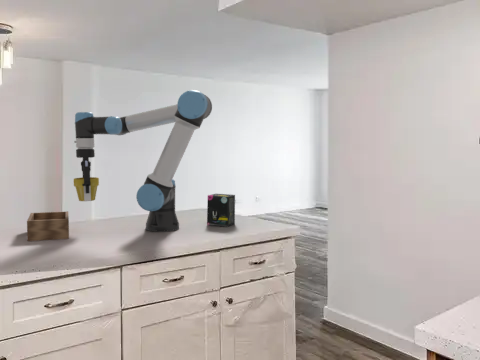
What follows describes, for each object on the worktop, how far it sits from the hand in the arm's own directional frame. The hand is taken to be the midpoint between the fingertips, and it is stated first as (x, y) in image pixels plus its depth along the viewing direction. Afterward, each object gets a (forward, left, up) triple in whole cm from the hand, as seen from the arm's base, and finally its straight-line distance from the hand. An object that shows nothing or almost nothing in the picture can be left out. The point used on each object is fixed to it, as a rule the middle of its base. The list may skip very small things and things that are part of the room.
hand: (87, 199), depth 200 cm
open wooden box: (+15, +1, -14) cm, 21 cm away
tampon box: (-62, 0, -15) cm, 63 cm away
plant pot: (0, 0, -1) cm, 1 cm away
